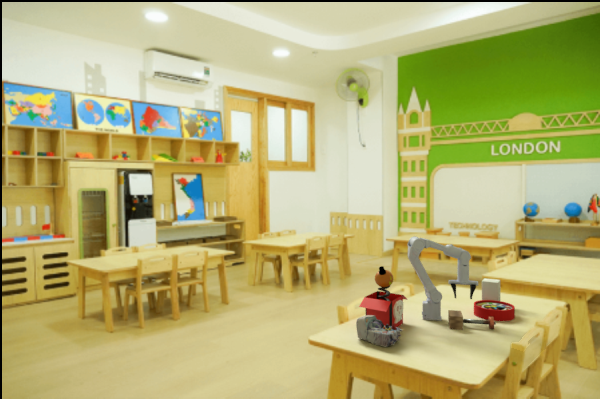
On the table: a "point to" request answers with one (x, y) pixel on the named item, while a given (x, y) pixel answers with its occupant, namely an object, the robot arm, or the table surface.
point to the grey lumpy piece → (377, 331)
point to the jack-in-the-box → (384, 301)
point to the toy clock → (494, 310)
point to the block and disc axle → (482, 322)
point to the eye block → (455, 319)
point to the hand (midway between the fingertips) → (463, 298)
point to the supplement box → (491, 289)
